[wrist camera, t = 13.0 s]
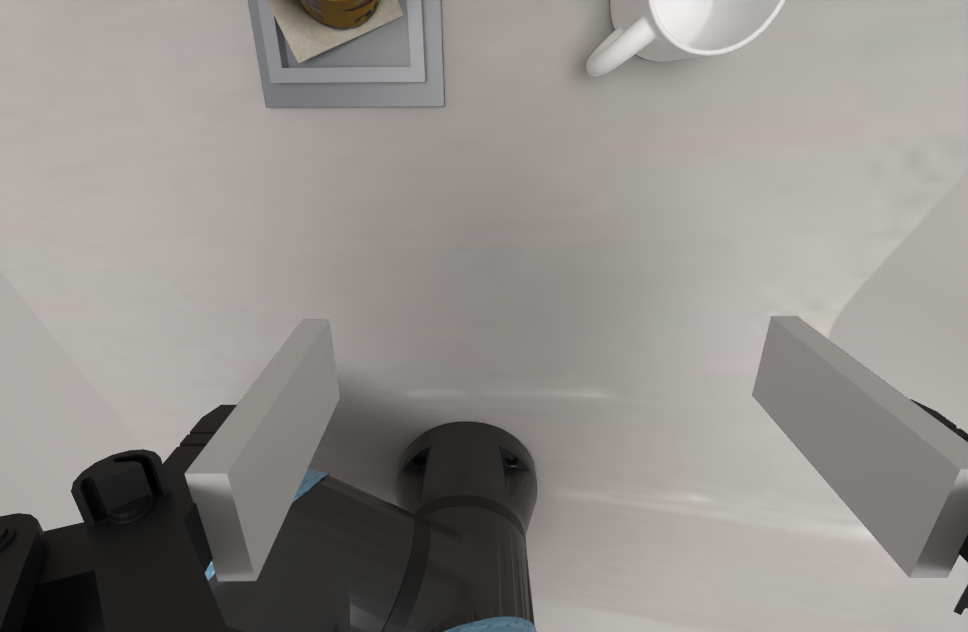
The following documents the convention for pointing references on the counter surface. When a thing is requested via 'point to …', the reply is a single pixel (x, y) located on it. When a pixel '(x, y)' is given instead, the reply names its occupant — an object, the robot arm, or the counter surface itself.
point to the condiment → (329, 22)
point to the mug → (679, 29)
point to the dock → (356, 63)
